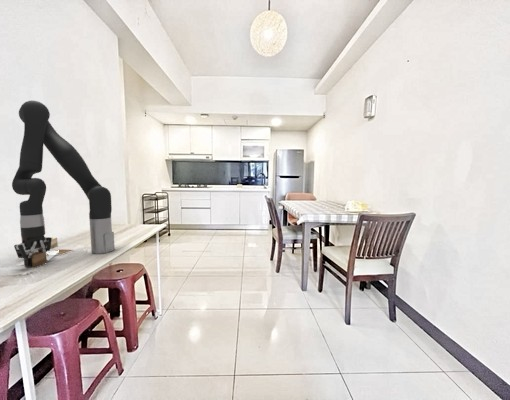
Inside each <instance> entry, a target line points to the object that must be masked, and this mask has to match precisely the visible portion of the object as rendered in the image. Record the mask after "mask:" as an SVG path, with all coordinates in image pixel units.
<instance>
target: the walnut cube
mask: <svg viewBox="0 0 510 400" xmlns="http://www.w3.org/2000/svg"><path fill="white" fill-rule="evenodd" d="M46 254H47V252H34V253H32V256H31V258H32V266H31V267H30V268H35V267H36V268H38V267H40V265H41V266H43V264H44V265H46V264H45V263H47V264H48V259H47V255H46ZM23 262H24V263H23V265H24V268H27V267H26V266H25V261H24V260H23ZM37 266H38V267H37Z"/></svg>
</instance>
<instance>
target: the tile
mask: <svg viewBox="0 0 510 400" xmlns="http://www.w3.org/2000/svg"><path fill="white" fill-rule="evenodd" d="M58 250H59V253H58V255H60V256H62V255H65V253H66V254H69V253H71V251H72V252H74V251H75V250H74V249H60V248H59V249H57V250H55V251H58ZM68 252H69V253H68Z"/></svg>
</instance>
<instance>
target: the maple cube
mask: <svg viewBox="0 0 510 400" xmlns="http://www.w3.org/2000/svg"><path fill="white" fill-rule="evenodd" d="M51 238H52V240H51V247H50V250H52V249H55V248H57V247H58V245H59V244H58V237H51ZM43 244H44V242H43ZM46 248H47V247H46Z"/></svg>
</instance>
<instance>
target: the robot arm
mask: <svg viewBox="0 0 510 400" xmlns="http://www.w3.org/2000/svg"><path fill="white" fill-rule="evenodd" d="M50 116H51V114H50V110H49V108H48V107H47V106H46V105H45V104H44V103H42V102H40V101H39V100H28V101H25V102H23V103H21V106H20V107H19V110H18V117H19V120H21V121H22V122H23V124H24V126H23V127H24V128H23V129H24V131H23V138H22V143H21V147H20V153H19V164H18V169H17V170H16V173H15V175H14V177H13V179H12V183H11V187H12V190H13V191H14V192H15V193H16V194H17V195H20V196H28V199H27V200H24V201H23V200H22V201H21V202H19V215H20V217H19V224H20V237H22V238H23V241H22V240H21V243H19V244H14V246H13V247H14V250H15V252H16V255H17V258H18V259H23V262H24V261H25V266H26V267H25V266H24V267H25V268H32V267H31V266H32V258H31V256H32V253H33V252H34V249H37V250H38V252H46V253H48V252H49V251H50V252H51V249H50V247H51V240H52V238H53V237H47V236H46V237H45V235H46V226H45V217H44V212H43V211H44V210H43V202H44V200H45V196H46V192H47V184H46V183H45V181H44V180H43V179H41V178H39V177H33V176H34V175H35V174H39V173H41V172H42V170H43V159H44V146H45V148H46V149H47V150H48V152H49V153H50V155H51V156H52V157H53V158H54V160H55V161H56V163H58V165H60V167H61V168H62V169H63V170H64V171H65V172H66V173H67V174H68V175H69V176H70V177H71V178H72V179H73V180H74V181H75V182H76V183H77V185H79V187H80V188H81V190H82V192H83V193H84V195H85V196H86V198H87V200H88V201H89V202H88V204H89V205H88V206H89V212H88V215H89V216H88V217H89V233H90V234H89V235H90V249H91V250H90V251H91V254H94V255H95V254H99V255H100V254H107V253H110V252H113V251H115V250H116V249H115V248H116V247H115V246H116V244H115V232H114V231H112V230H113V228H112V210H113V209H112V195H111V191H110V190H109V189H108V188H106V187H104V186H102V185H101V184H100V182H98V180H97V179H96V178H95V177H94V176H93V174H92V173H91V170H90V168H89V167H88V165H87V163H86V161H85V160H84V158H83V157H82V155H81V154H80V153H79V151H78V150H77V149H76V148H75V147H74V146H73V145H72V144H71V143H70V142H69V141H67V140H66V139H64V138H63V137H62V136H61V135H60V134H59V133H58V132H57V130H56V129H55V128H54V127H53V126H52V124H51V122H50V121H49V119H50ZM22 238H21V239H22ZM43 242H44V244H43ZM24 246H25V247H24ZM46 247H47V248H46ZM28 249H29V250H28Z"/></svg>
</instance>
